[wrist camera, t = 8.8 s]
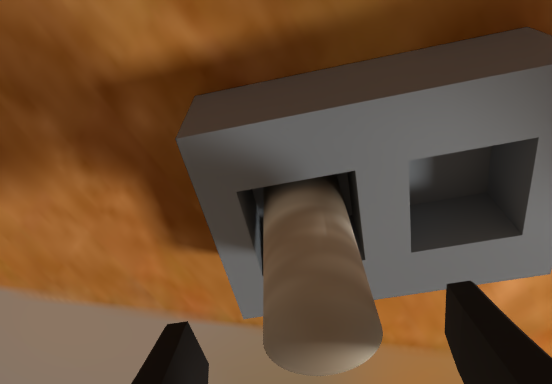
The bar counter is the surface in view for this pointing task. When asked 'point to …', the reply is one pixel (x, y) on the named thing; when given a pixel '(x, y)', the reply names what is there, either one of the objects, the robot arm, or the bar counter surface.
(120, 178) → the bar counter surface
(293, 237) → the dowel
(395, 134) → the socket block
